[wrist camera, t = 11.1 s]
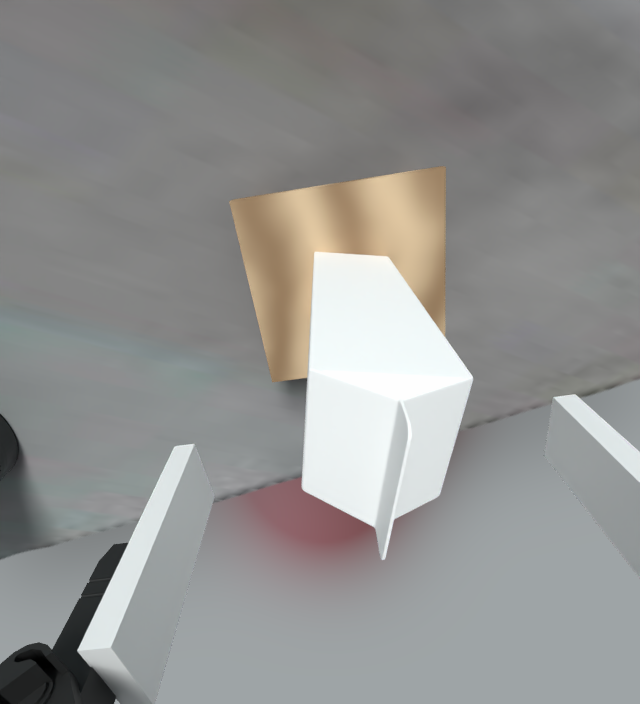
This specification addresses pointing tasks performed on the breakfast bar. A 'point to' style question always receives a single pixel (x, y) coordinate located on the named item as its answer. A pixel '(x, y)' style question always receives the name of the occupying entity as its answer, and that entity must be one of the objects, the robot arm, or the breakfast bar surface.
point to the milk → (377, 393)
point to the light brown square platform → (338, 249)
